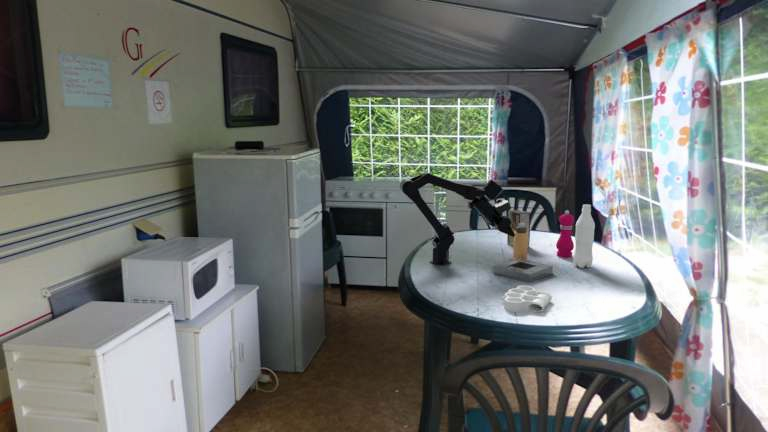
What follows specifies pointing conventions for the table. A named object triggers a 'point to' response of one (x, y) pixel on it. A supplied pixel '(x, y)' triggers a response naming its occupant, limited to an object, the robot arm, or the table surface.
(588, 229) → the water bottle
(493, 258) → the table surface
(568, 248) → the pepper mill
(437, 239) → the robot arm
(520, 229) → the plug
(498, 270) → the grey square frame
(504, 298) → the white flat lumpy part
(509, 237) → the coffee box
